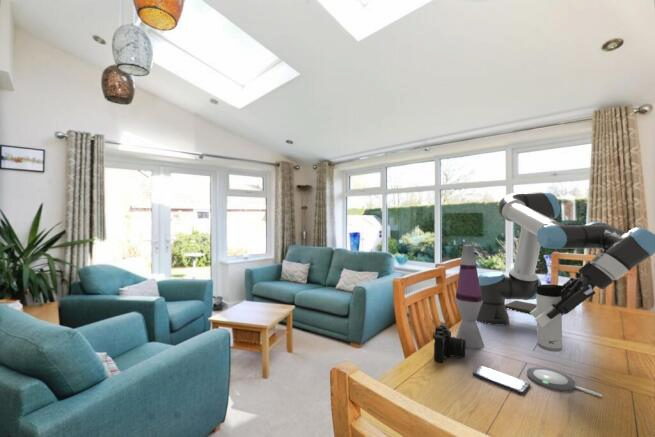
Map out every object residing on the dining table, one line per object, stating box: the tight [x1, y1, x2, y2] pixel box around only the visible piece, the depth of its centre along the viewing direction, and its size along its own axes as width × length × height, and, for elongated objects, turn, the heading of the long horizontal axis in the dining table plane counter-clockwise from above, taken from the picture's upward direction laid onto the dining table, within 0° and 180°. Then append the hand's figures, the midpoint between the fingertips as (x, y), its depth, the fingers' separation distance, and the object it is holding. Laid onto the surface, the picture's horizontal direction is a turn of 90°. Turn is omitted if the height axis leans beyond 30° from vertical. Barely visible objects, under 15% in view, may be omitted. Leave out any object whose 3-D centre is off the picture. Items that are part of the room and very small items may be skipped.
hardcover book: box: [505, 300, 537, 315], centre depth 161 cm, size 16×23×2 cm
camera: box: [432, 323, 467, 364], centre depth 109 cm, size 14×11×10 cm
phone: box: [472, 365, 531, 396], centre depth 92 cm, size 14×7×1 cm, turn 40°
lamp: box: [454, 244, 485, 350], centre depth 120 cm, size 11×11×40 cm
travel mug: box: [536, 284, 563, 353], centre depth 92 cm, size 6×7×20 cm
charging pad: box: [526, 366, 603, 398], centre depth 90 cm, size 18×12×1 cm
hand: (535, 319), depth 93 cm, fingers closed on travel mug, 6 cm apart
